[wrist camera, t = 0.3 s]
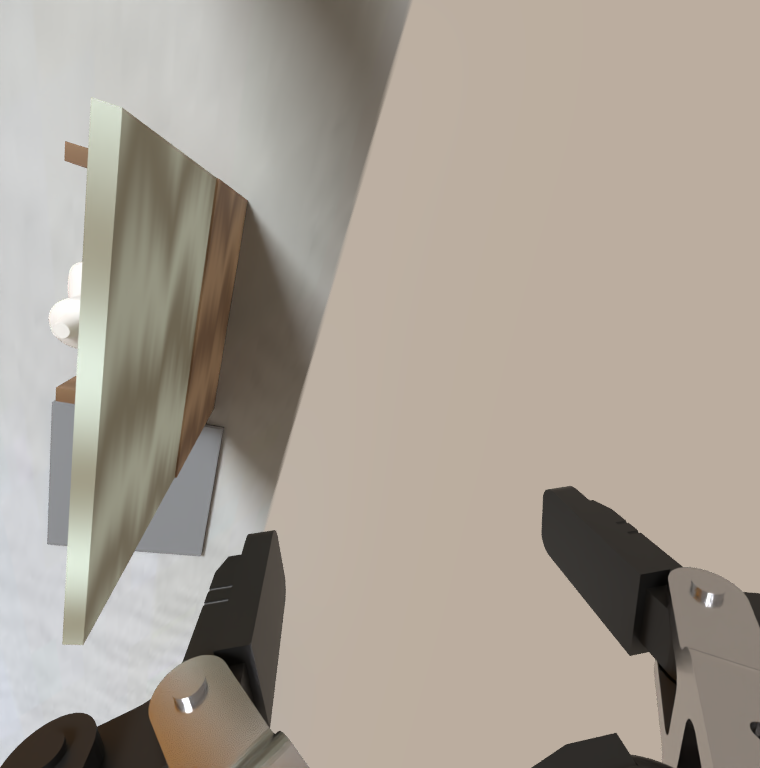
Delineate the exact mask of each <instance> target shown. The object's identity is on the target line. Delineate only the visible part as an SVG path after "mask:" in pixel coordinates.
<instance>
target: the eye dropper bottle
mask: <svg viewBox="0 0 760 768" xmlns="http://www.w3.org/2000/svg"><path fill="white" fill-rule="evenodd" d="M81 279H82V262H79V263H76V264H75V265H73V266H72V267H71V269H70V271H69V276H68V298H67V299H63V300H60V301H59V302H58V303H56V304H55V305H54V307H52V309H51V311H50V314H49V319H48V320H49V325H50V328H51V331H52V333H53V335H54V336H56V337H57V338H58V339H59V340H60V341H61V342H63V343H65V344H66V345H68V346H71V347H74V348H78V337H79V317H80V298H81Z"/></svg>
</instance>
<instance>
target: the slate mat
mask: <svg viewBox="0 0 760 768" xmlns="http://www.w3.org/2000/svg"><path fill="white" fill-rule="evenodd" d="M74 413H75V404H71V403H64V402H58V401H54V402H52V420H51V450H50V479H49V508H48V538H47V544H50V545H63V546H68V528H69V508H70V489H71V470H72V451H73V432H74ZM223 429H224V427H218V426H212V425H205V426H204V428H203V430H202V431H201V433H200V435H199V437H198V439H197V441H196V443H195V445H194V446H193V448H192V450H191V452H190V454H189V456H188V458H187V459H186V461H185V463H184V465H183V467H182V469H181V471H180V472H179V474H178V476H177V478H174V480H173V482H172V483H171V485H170V487H169V489H168V491H167V493H166V494H165V496H164V498H163V500H162V502H161V504H160V505H159V507H158V509H157V511H156V513H155V514H154V516H153V518H152V520H151V522H150V524H149V525H148V527H147V529H146V531H145V533H144V535H143V536H142V538H141V540H140V542H139V544H138V546H137V547H136V549H135V551H140V552H153V553H166V554H179V555H192V556H201V554H202V549H203V543H204V538H205V532H206V526H207V521H208V515H209V509H210V503H211V498H212V492H213V486H214V480H215V475H216V469H217V463H218V458H219V452H220V446H221V440H222V435H223Z"/></svg>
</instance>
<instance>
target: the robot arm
mask: <svg viewBox="0 0 760 768" xmlns="http://www.w3.org/2000/svg"><path fill="white" fill-rule="evenodd" d="M542 540H543V543H544V547H545V549H546V551H547V553H548V554H549V556H550V557H551V558H552V560H553V561H554V562H555V563H556V565H557V566H558V567H559V568H560V570H561V571H562V572H563V573H564V575H565V576H566V577H567V578H568V580H569V581H570V582H571V583H572V584H573V586H574V587H575V588H576V589H577V590H578V592H579V593H580V594H581V596H582V597H583V598H584V599H585V600H586V602H587V603H588V604H589V606H590V607H591V608H592V609H593V611H594V612H595V613H596V614H597V616H598V617H599V618H600V619H601V621H602V622H603V623H604V624H605V626H606V627H607V628H608V629H609V631H610V632H611V633H612V634H613V636H614V637H615V638H616V639H617V640H618V642H619V643H620V644H621V645H622V647H623V648H624V649H625V650H626V651H627V653H628V654H629V655H630V656H631V655H636V654H641V653H646V652H650V653H651V655H652V656H653V657H654V658H655V664H654V676H655V685H656V696H657V705H658V714H659V724H660V733H661V743H662V763H661V762H658V761H655V760H653V759H649V758H645V757H641V756H636V755H630V754H629V752H628V751H627V749H626V747H625V746H624V744H623V743H622V741H621V740H620V738H619V736H618V735H617V733H614V734H609V735H605V736H601V737H596V738H592V739H588V740H583V741H579V742H575V743H570V744H567V745H565V746H563V747H562V748H560V749H559V750H557V751H556V752H554V753H553V754H551V755H550V756H548V757H547V758H545V759H544V760H542V761H541V762H540V763H538V764H536V765H535V766H533V767H532V768H760V594H759V593H747V592H742V591H741V590H740V589H739V588H738V587H737V586H735V585H734V584H733V583H731V582H730V581H728V580H727V579H724V578H723V577H721V576H719V575H717V574H714V573H712V572H709V571H706V570H702V569H697V568H691V567H682V566H681V565H680V564H679V563H677V562H676V561H675V560H673V559H672V558H671V557H670V556H669V555H667V554H666V553H665V552H664V551H662V550H661V549H660V548H659V547H658V546H656V545H655V544H654V543H653V542H651V541H650V540H649V539H648V538H647V537H645V536H644V535H643V534H642V533H638V530H637V529H635V528H634V527H633V526H632V525H631V524H629V523H626V520H624V519H623V518H622V517H621V516H619V515H618V514H617V513H616V512H615V511H613V510H612V509H610V508H608V507H606V506H604V505H602V504H600V503H598V502H596V501H594V500H591V501H590V500H588V499H587V498H586V497H585V496H584V495H582V494H581V493H580V492H579V491H578V490H577V489H575V488H574V487H572V486H568V487H561V488H555V489H548V490H546V491H545V492H544V495H543V513H542ZM209 589H210V591H209V592H208V594H207V597H206V599H205V602H204V603H205V605H204V606H203V608H202V610H201V613H200V616H199V619H198V621H197V624H196V627H195V630H194V632H193V635H192V638H191V640H190V643H189V646H188V649H187V651H186V654H185V657H184V660H183V662H182V663H181V664H180V665H178V666H177V667H176V668H174V669H173V670H172V671H171V672H169V673H168V674H167V675H166V676H165V677H164V679H163V680H162V681H161V682H160V683H159V685H158V686H157V688H156V689H155V691H154V693H153V695H152V698H151V699H150V700H149V701H147V702H146V703H144V704H143V705H141V706H139V707H137V708H135V709H133V710H131V711H129V712H127V713H125V714H123V715H121V716H118V717H116V718H114V719H112V720H110V721H108V722H106V723H104V724H102V725H100V726H98V727H97V726H96V723H95V721H94V719H93V718H92V717H91V716H89V715H88V714H84V713H73V714H68V715H65V716H62V717H59V718H57V719H55V720H53V721H51V722H49V723H47V724H45V725H44V726H42V727H41V728H39V729H38V730H36V731H35V732H34V733H32V734H31V735H30V736H29V737H27V738H26V739H25V740H24V741H23V742H22V743H21V744H20V745H19V746H18V747H17V748H16V749H15V750H14V751H13V752H12V753H11V754H10V755H9V757H8V758H7V759H6V760H5V762H4V763H3V764H2V766H1V767H0V768H309V767H308V765H307V764H306V762H305V761H304V760H303V758H302V757H301V755H300V754H299V753H298V751H297V750H296V748H295V747H294V745H293V744H292V742H291V741H290V740H289V739H288V737H287V736H286V735H285V734H284V733H283V732H281V731H279V732H277V733H276V734H274V733H273V732H272V731H271V729H270V723H271V714H272V706H273V698H274V690H275V681H276V673H277V664H278V655H279V648H280V639H281V631H282V623H283V614H284V606H285V593H286V589H285V575H284V570H283V564H282V559H281V553H280V547H279V542H278V536H277V533H276V531H275V530H274V531H267V532H260V533H254V534H248V535H247V538H246V541H245V544H244V548H243V551H242V555H236V556H230V557H228V558H227V559H226V560H225V561H224V563H223V564H222V565H221V566H220V567H219V568H218V570H217V571H216V572H215V575H214V578H213V580H212V583H211V586H210V588H209Z"/></svg>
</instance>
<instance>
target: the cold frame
mask: <svg viewBox="0 0 760 768" xmlns="http://www.w3.org/2000/svg"><path fill="white" fill-rule="evenodd" d="M65 161H67V162H70V163H73V164H76V165H79V166H82V167H85V168H87V184H86V203H85V222H84V241H83V260H82V279H81V298H80V317H79V337H78V356H77V375H76V376H75V377H73V378H72V379H70V380H68V381H66V382H65V383H63V384H61V385H60V386H58V387H56V401H58V402H64V403H71V404H75V413H74V432H73V451H72V470H71V489H70V508H69V528H68V547H67V566H66V585H65V604H64V623H63V642H62V645H83V644H84V642H85V641H86V639H87V637H88V635H89V633H90V632H91V630H92V628H93V626H94V624H95V622H96V621H97V619H98V617H99V615H100V613H101V611H102V610H103V608H104V606H105V604H106V602H107V600H108V599H109V597H110V595H111V593H112V591H113V589H114V588H115V586H116V584H117V582H118V580H119V578H120V577H121V575H122V573H123V571H124V569H125V568H126V566H127V564H128V562H129V560H130V558H131V557H132V555H133V553H134V551H135V549H136V547H137V546H138V544H139V542H140V540H141V538H142V536H143V535H144V533H145V531H146V529H147V527H148V525H149V524H150V522H151V520H152V518H153V516H154V514H155V513H156V511H157V509H158V507H159V505H160V504H161V502H162V500H163V498H164V496H165V494H166V493H167V491H168V489H169V487H170V485H171V483H172V482H173V480H174V478H177V476H178V474H179V472H180V471H181V469H182V467H183V465H184V463H185V461H186V459H187V458H188V456H189V454H190V452H191V450H192V448H193V446H194V445H195V443H196V441H197V439H198V437H199V435H200V433H201V431H202V430H203V428H204V426H205V424H206V422H207V420H208V418H209V417H210V415H211V413H212V411H213V409H214V404H215V398H216V392H217V386H218V379H219V373H220V367H221V361H222V355H223V349H224V343H225V337H226V331H227V324H228V318H229V312H230V306H231V300H232V294H233V288H234V282H235V276H236V270H237V263H238V257H239V251H240V245H241V239H242V233H243V227H244V221H245V215H246V209H247V202H248V200H246V199H245V198H244V197H242V196H241V195H240V194H238V193H237V192H236V191H234V190H233V189H232V188H230V187H229V186H228V185H226V184H225V183H224V182H222V181H221V180H220V179H218V178H216V177H214V176H213V175H212V174H210V173H209V172H208V171H206V170H205V169H204V168H202V167H201V166H200V165H198V164H197V163H196V162H194V161H193V160H192V159H190V158H189V157H188V156H186V155H185V154H184V153H182V152H181V151H180V150H178V149H177V148H176V147H174V146H173V145H172V144H170V143H169V142H168V141H166V140H165V139H164V138H162V137H161V136H159V135H158V134H157V133H155V132H154V131H153V130H151V129H150V128H149V127H147V126H146V125H145V124H143V123H142V122H141V121H139V120H138V119H137V118H135V117H134V116H133V115H131V114H130V113H129V112H127V111H126V110H125V109H123V108H121V107H119V106H116V105H113V104H110V103H107V102H104V101H101V100H98V99H95V98H92V97H91V107H90V126H89V145H88V148H85V147H82V146H79V145H76V144H72V143H69V142H66V141H65Z"/></svg>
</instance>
